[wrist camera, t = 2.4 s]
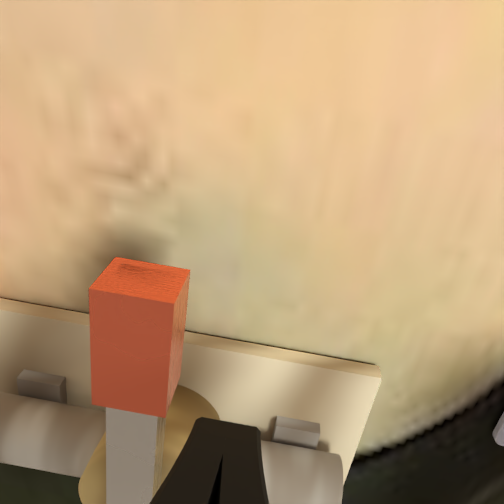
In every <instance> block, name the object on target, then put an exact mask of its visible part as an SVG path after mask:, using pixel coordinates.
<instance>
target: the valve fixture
mask: <svg viewBox="0 0 504 504" xmlns="http://www.w3.org/2000/svg"><path fill="white" fill-rule="evenodd" d="M381 380H382V376H381V372H380V368H379V366H376V365H371V364H365V363H359V362H354V361H348V360H343V359H337V358H332V357H326V356H320V355H315V354H309V353H304V352H298V351H292V350H287V349H281V348H276V347H270V346H265V345H259V344H253V343H248V342H242V341H237V340H231V339H226V338H220V337H214V336H209V335H203V334H198V333H192V332H186V331H185V332H184V343H183V353H182V364H181V375H180V378H179V381H178V384H177V387H176V390H175V392H174V395H173V398H172V401H171V404H170V407H169V409H168V412H167V415H166V425H165V438H164V450H163V463H162V476H161V484H162V483H163V481H164V480H165V478H166V477H167V475H168V473H169V472H170V470H171V468H172V466H173V465H174V463H175V461H176V459H177V458H178V456H179V454H180V452H181V450H182V449H183V447H184V445H185V443H186V441H187V439H188V437H189V435H190V432H191V430H192V428H193V425H194V423H195V420H196V419H198V418H200V417H205V418H211V419H216V420H222V421H227V422H233V423H238V424H244V425H249V426H255V427H257V428H258V429H259V430H260V431H261V451H262V461H263V469H264V476H265V483H266V489H267V495H268V500H269V504H341V503H342V495H343V485H344V482H345V480H346V477H347V474H348V471H349V469H350V466H351V463H352V460H353V458H354V455H355V452H356V449H357V446H358V444H359V441H360V438H361V435H362V433H363V430H364V427H365V424H366V422H367V419H368V416H369V413H370V411H371V408H372V405H373V402H374V400H375V397H376V394H377V391H378V388H379V386H380V383H381ZM0 463H6V464H11V465H16V466H22V467H27V468H32V469H37V470H43V471H48V472H53V473H59V474H64V475H69V476H75V477H80V481H79V488H78V490H79V496H80V499H81V502H82V504H106V407H103V406H97V405H92V398H91V358H90V318H89V314H86V313H80V312H75V311H69V310H64V309H58V308H53V307H47V306H41V305H36V304H30V303H25V302H19V301H14V300H8V299H2V298H0Z"/></svg>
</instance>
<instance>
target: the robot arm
mask: <svg viewBox="0 0 504 504" xmlns="http://www.w3.org/2000/svg"><path fill="white" fill-rule="evenodd" d="M492 435H493V438H494V440H495V442H496V443H497V444H498V445H501V446H504V412H503V414H502V416H501V418H500V419H499V421H498V423H497V425H496V427H495V429H494V430H493V433H492ZM149 504H269V500H268V495H267V489H266V483H265V476H264V469H263V461H262V451H261V431H260V430H259V429H258V428H257V427H255V426H249V425H244V424H238V423H233V422H227V421H222V420H216V419H211V418H205V417H200V418H198V419H196V420H195V423H194V425H193V428H192V430H191V432H190V435H189V437H188V439H187V441H186V443H185V445H184V447H183V449H182V450H181V452H180V454H179V456H178V458H177V459H176V461H175V463H174V465H173V466H172V468H171V470H170V472H169V473H168V475H167V477H166V478H165V480H164V481H163V483H162V484H161V486H160V488H159V489H158V491H157V492H156V494H155V495H154V497H153V499H152V500H151V502H150V503H149Z"/></svg>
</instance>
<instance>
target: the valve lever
mask: <svg viewBox="0 0 504 504" xmlns="http://www.w3.org/2000/svg"><path fill="white" fill-rule="evenodd" d="M189 279H190V270H188V269H182V268H176V267H171V266H165V265H159V264H154V263H148V262H142V261H136V260H131V259H125V258H119V257H115V258H114V259H113V260H112V262H111V263H110V264H109V265H108V266H107V267H106V269H105V270H104V271H103V272H102V273H101V275H100V276H99V277H98V278H97V279H96V281H95V282H94V283H93V284H92V285H91V286H90V288H89V318H90V358H91V398H92V405H97V406H103V407H106V504H149V503H150V502H151V500H152V499H153V497H154V495H155V494H156V492H157V491H158V489H159V488H160V486H161V476H162V463H163V450H164V438H165V425H166V415H167V412H168V409H169V407H170V404H171V401H172V398H173V395H174V392H175V390H176V387H177V384H178V381H179V378H180V375H181V364H182V353H183V343H184V332H185V321H186V311H187V300H188V289H189Z"/></svg>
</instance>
